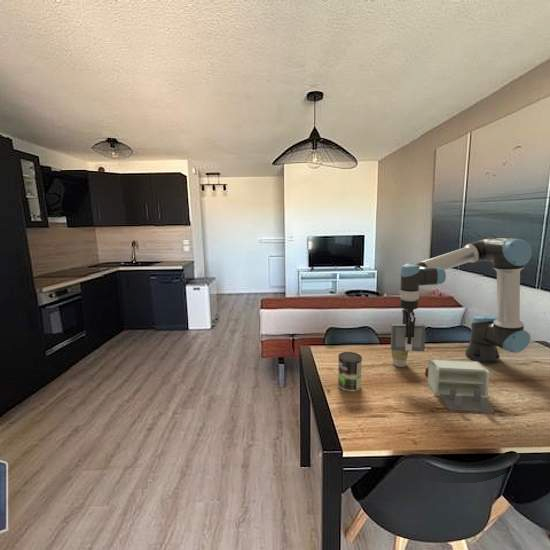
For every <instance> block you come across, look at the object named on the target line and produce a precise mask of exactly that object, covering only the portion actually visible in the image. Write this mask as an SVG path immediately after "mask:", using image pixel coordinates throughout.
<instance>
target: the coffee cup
mask: <svg viewBox="0 0 550 550" xmlns="http://www.w3.org/2000/svg"><path fill="white" fill-rule="evenodd" d="M389 340H390V341H391V337H390V338H389ZM409 352H410V351H394V350H391V356H392V364H393V365H394V366H396V367H406V364H407V360H408V358H409V357H408V356H409Z"/></svg>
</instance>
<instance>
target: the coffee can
mask: <svg viewBox="0 0 550 550" xmlns="http://www.w3.org/2000/svg"><path fill="white" fill-rule="evenodd" d="M337 357H338V369H337V370H338V371H337V372H338V373H337V374H338V376H337V377H338V378H337V386H338V388H339V389H341V390H343V391H346V392H357V391H359V390H360V389H362V364H363V363H362V360H363V356H362V355H361V354H359V353H357V352H353V351H344V352H339V354H338V356H337Z"/></svg>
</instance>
